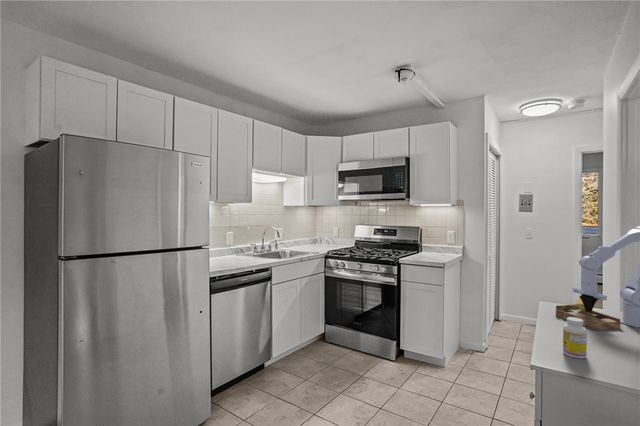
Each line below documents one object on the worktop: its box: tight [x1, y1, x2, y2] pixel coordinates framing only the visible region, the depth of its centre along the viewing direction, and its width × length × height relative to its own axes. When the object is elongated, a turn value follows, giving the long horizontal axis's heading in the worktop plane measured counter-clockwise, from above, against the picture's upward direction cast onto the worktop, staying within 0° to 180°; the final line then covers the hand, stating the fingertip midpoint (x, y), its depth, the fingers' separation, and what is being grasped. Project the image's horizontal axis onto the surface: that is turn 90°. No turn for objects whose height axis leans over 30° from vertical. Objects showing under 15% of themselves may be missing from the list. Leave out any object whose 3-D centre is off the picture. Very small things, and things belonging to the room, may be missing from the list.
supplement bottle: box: [562, 317, 588, 360], centre depth 117 cm, size 7×7×13 cm
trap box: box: [555, 303, 621, 331], centre depth 151 cm, size 13×19×5 cm
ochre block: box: [575, 297, 585, 311], centre depth 157 cm, size 4×4×4 cm
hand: (588, 311), depth 153 cm, fingers closed, pressing on ochre block
